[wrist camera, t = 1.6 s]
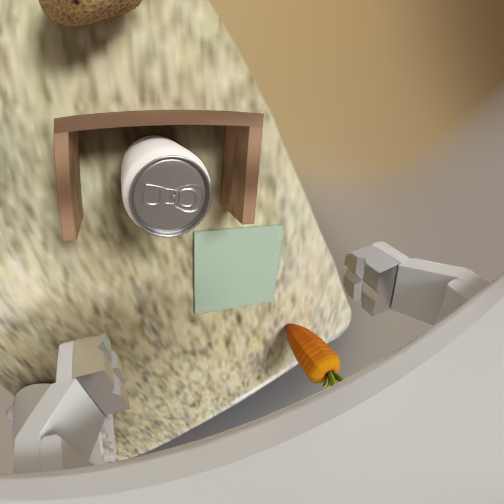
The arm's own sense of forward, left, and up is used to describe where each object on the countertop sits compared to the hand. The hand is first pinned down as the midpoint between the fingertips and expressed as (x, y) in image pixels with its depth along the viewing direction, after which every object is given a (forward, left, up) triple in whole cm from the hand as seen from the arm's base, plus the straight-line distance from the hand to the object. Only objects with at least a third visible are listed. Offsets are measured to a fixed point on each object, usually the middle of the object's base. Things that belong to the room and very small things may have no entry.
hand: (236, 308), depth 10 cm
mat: (-13, -10, -25) cm, 30 cm away
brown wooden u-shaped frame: (0, 0, -25) cm, 25 cm away
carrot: (-24, -19, -25) cm, 40 cm away
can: (0, 0, -25) cm, 25 cm away
